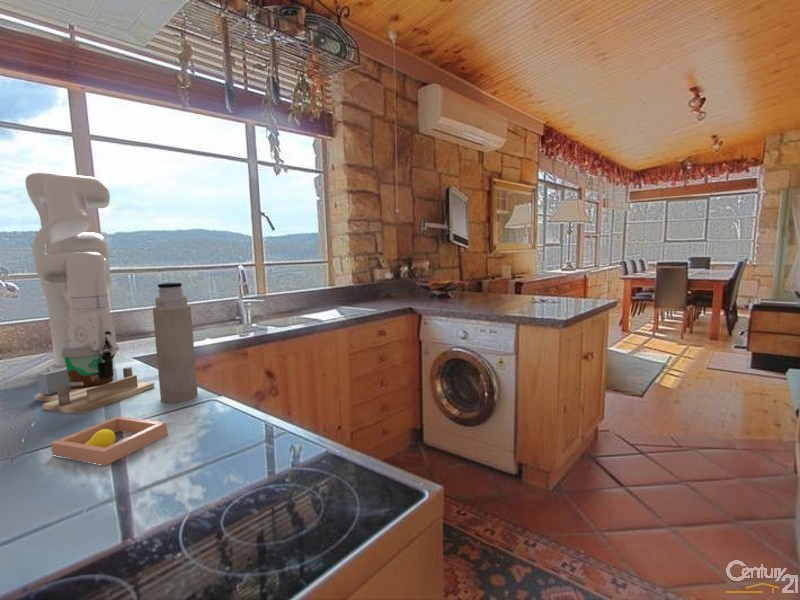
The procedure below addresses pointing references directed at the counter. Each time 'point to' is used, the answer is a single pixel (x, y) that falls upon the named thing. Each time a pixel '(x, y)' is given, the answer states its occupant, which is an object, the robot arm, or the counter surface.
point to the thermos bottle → (174, 344)
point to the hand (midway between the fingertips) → (97, 376)
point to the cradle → (93, 394)
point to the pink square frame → (144, 435)
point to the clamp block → (53, 380)
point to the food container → (84, 367)
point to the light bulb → (102, 438)
